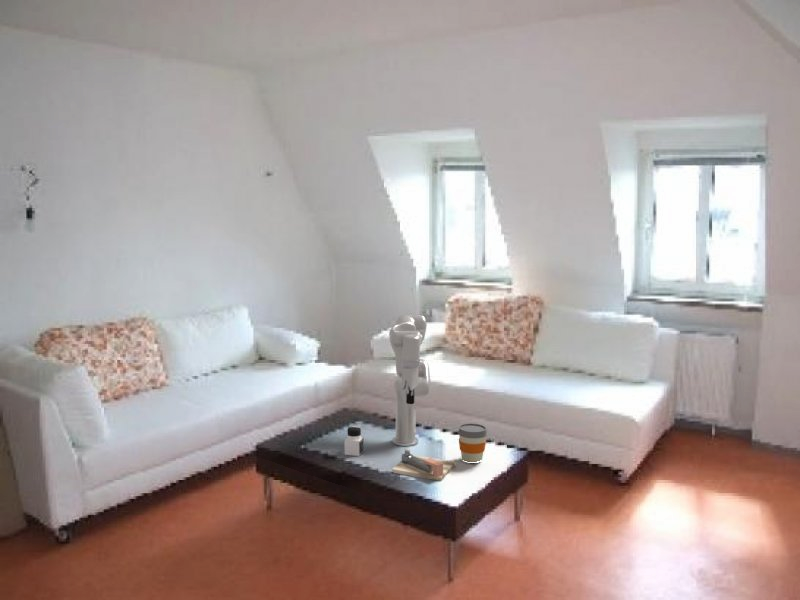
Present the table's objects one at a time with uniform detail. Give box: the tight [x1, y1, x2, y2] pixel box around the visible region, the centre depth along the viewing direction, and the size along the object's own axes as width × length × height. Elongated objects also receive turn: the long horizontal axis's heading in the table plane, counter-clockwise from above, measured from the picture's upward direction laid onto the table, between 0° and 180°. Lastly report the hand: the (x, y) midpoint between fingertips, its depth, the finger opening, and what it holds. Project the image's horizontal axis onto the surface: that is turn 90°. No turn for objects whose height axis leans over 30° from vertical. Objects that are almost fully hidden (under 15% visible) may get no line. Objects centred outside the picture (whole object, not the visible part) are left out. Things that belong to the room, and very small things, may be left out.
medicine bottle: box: [344, 425, 365, 457], centre depth 299 cm, size 7×7×12 cm
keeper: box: [424, 457, 443, 477], centre depth 273 cm, size 8×4×5 cm, turn 43°
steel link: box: [401, 453, 433, 472], centre depth 280 cm, size 18×5×2 cm, turn 41°
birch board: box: [391, 449, 456, 482], centre depth 281 cm, size 18×22×7 cm
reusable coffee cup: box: [457, 422, 488, 462], centre depth 291 cm, size 12×13×15 cm
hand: (410, 403), depth 289 cm, fingers closed
